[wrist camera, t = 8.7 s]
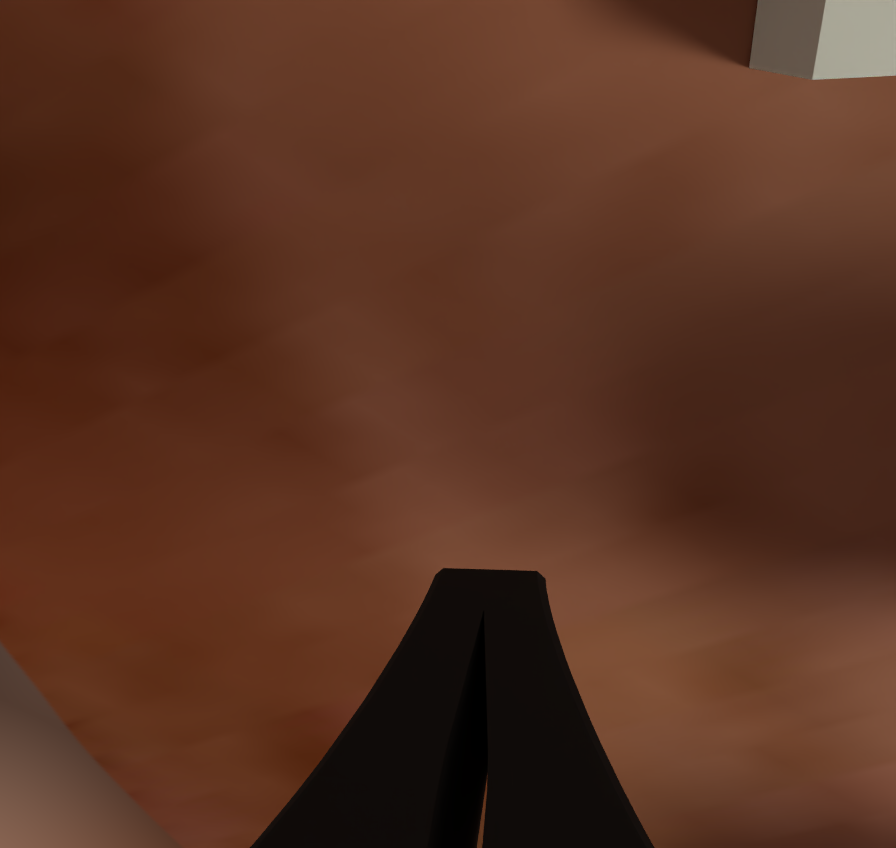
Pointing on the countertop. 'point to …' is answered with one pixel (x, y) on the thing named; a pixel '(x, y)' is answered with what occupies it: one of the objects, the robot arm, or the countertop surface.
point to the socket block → (825, 38)
